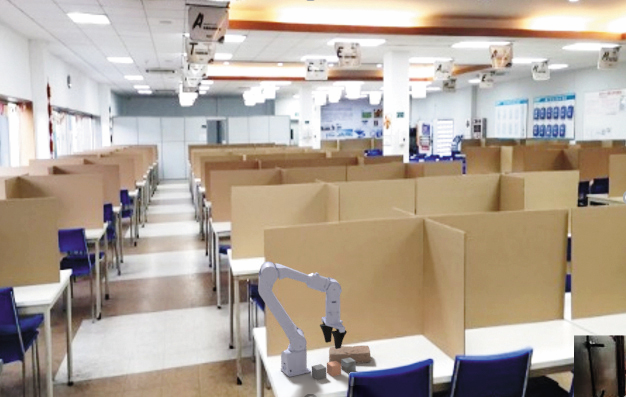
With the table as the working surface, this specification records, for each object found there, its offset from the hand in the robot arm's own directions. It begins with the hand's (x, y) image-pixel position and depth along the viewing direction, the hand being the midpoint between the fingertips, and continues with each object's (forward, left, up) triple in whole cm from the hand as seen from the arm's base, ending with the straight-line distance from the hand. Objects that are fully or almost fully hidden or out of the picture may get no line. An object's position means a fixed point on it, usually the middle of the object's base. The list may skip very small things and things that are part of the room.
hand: (333, 345), depth 216 cm
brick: (+11, +5, -10) cm, 15 cm away
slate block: (+5, -4, -10) cm, 11 cm away
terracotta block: (-2, -4, -10) cm, 10 cm away
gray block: (-8, -4, -10) cm, 13 cm away
